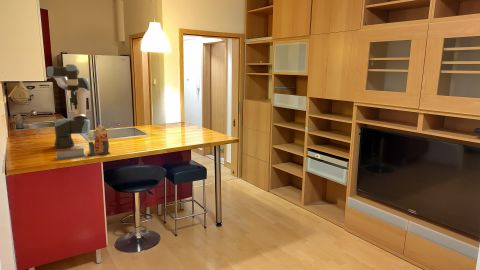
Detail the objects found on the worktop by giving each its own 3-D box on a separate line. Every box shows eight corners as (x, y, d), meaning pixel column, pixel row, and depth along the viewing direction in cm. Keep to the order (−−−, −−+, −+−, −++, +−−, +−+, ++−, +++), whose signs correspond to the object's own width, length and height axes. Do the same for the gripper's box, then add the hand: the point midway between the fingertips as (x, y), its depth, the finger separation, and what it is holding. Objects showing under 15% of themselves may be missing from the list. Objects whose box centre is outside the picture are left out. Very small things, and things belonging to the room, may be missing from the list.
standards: (88, 154, 260) (87, 142, 259) (108, 151, 268) (107, 140, 266) (89, 156, 255) (88, 144, 253) (110, 153, 262) (109, 142, 260)
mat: (55, 157, 250) (55, 157, 250) (84, 154, 260) (84, 153, 260) (56, 160, 242) (56, 160, 242) (86, 157, 252) (86, 156, 252)
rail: (56, 157, 248) (56, 151, 247) (83, 154, 257) (82, 148, 256) (57, 159, 245) (56, 152, 244) (84, 155, 254) (83, 149, 253)
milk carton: (93, 149, 276) (92, 125, 272) (103, 147, 284) (102, 123, 280) (100, 150, 271) (98, 126, 267) (110, 148, 279) (108, 125, 275)
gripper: (65, 84, 265) (68, 110, 269) (69, 85, 244) (71, 114, 248) (76, 83, 269) (78, 110, 273) (80, 85, 248) (82, 114, 252)
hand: (75, 112), depth 261 cm, fingers open, 13 cm apart
